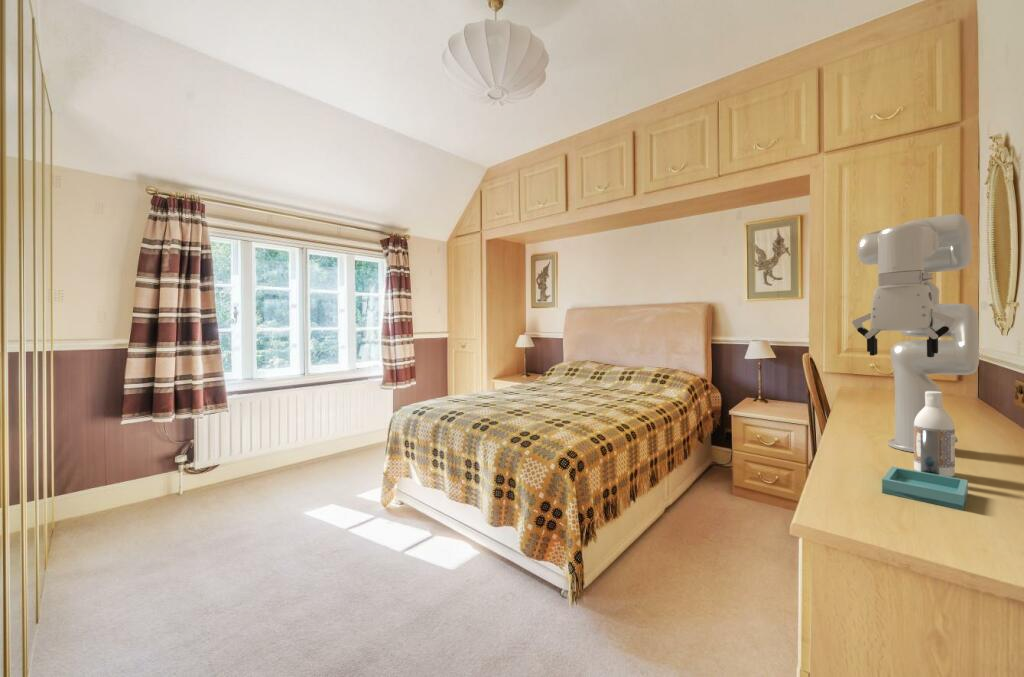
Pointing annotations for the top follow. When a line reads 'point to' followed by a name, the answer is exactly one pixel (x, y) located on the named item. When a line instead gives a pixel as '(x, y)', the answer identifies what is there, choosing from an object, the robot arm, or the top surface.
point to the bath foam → (941, 421)
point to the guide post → (930, 451)
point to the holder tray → (926, 487)
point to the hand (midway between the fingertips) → (901, 355)
